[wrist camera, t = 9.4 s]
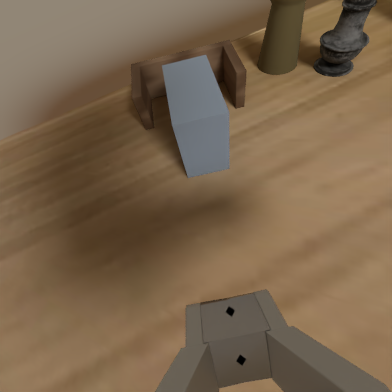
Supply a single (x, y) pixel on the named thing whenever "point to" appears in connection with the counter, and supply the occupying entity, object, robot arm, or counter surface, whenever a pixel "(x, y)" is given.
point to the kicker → (198, 115)
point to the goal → (152, 69)
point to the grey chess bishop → (344, 39)
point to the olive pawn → (282, 37)
